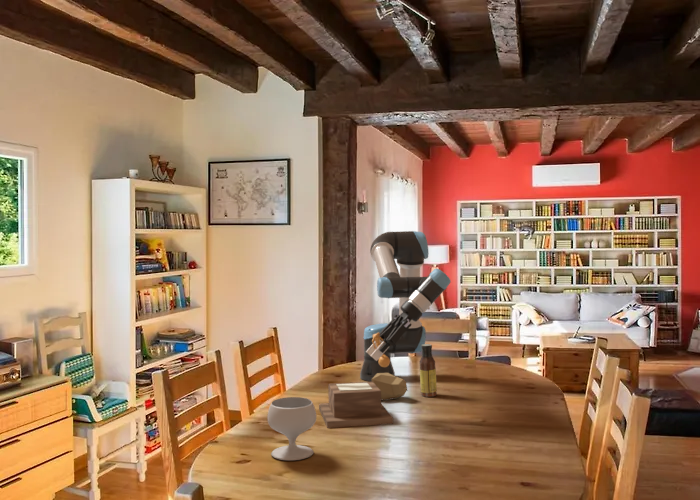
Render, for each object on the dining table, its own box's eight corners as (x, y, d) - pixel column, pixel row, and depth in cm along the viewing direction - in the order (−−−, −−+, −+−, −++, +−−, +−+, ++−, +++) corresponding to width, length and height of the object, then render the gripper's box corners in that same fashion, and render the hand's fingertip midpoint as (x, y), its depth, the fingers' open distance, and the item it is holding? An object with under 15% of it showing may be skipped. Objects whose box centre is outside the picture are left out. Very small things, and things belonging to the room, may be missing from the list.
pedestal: (319, 409, 223) (318, 380, 222) (378, 405, 226) (378, 377, 226) (327, 427, 201) (326, 396, 201) (392, 423, 205) (392, 392, 204)
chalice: (292, 442, 187) (291, 393, 187) (326, 452, 178) (326, 401, 178) (257, 455, 176) (256, 403, 176) (292, 467, 167) (291, 412, 167)
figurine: (384, 370, 208) (383, 335, 207) (368, 368, 211) (367, 334, 210) (394, 364, 216) (393, 330, 215) (379, 363, 218) (377, 329, 218)
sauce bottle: (436, 393, 243) (436, 343, 242) (437, 397, 237) (436, 346, 236) (419, 393, 243) (419, 343, 243) (419, 397, 237) (419, 346, 237)
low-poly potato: (363, 399, 237) (370, 391, 227) (368, 372, 243) (375, 363, 232) (400, 408, 239) (409, 401, 229) (404, 381, 244) (413, 373, 234)
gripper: (431, 317, 206) (385, 369, 204) (414, 310, 225) (372, 357, 223) (416, 302, 205) (369, 354, 202) (399, 296, 224) (357, 344, 221)
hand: (371, 356), depth 212 cm, fingers closed on figurine, 6 cm apart
